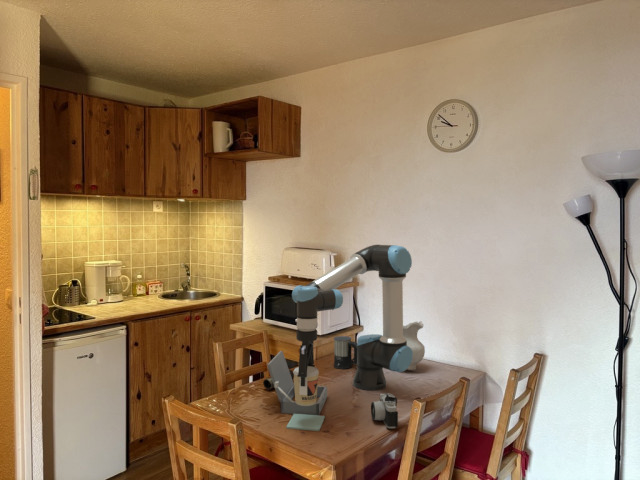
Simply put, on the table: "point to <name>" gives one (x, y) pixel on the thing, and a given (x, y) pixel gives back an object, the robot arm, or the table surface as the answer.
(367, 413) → the table surface
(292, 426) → the mat
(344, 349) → the milk frother
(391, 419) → the camera
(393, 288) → the robot arm
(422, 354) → the ceramic pitcher
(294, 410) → the equipment case
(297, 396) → the coffee cup
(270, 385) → the metal pipe
